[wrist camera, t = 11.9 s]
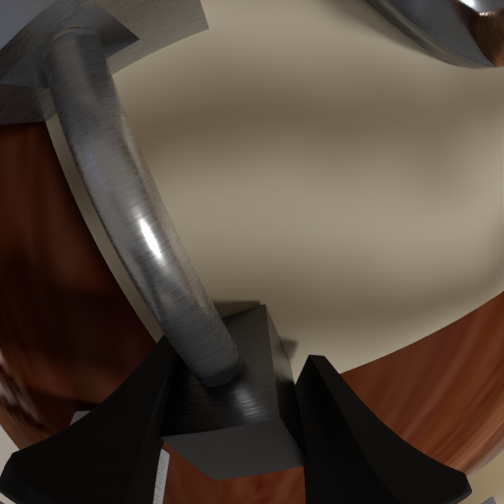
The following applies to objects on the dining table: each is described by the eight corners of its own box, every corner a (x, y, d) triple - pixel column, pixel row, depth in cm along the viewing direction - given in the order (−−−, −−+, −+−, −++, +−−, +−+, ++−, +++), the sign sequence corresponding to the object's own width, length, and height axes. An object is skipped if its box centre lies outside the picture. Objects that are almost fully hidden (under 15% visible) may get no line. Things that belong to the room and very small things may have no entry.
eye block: (29, 56, 6) (-66, 43, 1) (179, -34, 5) (140, -122, 1) (45, 121, 7) (-63, 134, 3) (209, 28, 6) (178, -65, 2)
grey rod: (68, 78, 6) (-36, 62, 2) (151, 28, 6) (79, -43, 2) (219, 382, 11) (213, 479, 7) (290, 362, 11) (309, 464, 6)
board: (33, 6, 5) (21, 1, 4) (437, -77, 3) (445, -83, 2) (208, 393, 13) (207, 409, 12) (531, 255, 11) (541, 262, 10)
